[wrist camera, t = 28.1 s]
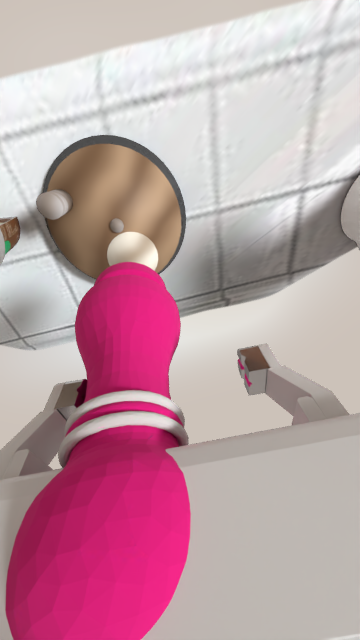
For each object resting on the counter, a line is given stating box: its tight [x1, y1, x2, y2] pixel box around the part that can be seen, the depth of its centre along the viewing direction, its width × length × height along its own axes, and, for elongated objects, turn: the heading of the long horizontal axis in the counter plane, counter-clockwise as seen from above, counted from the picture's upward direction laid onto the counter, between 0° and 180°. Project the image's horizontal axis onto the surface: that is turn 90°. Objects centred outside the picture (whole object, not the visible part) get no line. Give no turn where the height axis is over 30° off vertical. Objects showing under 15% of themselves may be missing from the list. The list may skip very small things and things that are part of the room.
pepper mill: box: [5, 262, 191, 640], centre depth 12 cm, size 7×7×20 cm
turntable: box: [36, 144, 181, 279], centre depth 34 cm, size 20×20×6 cm
